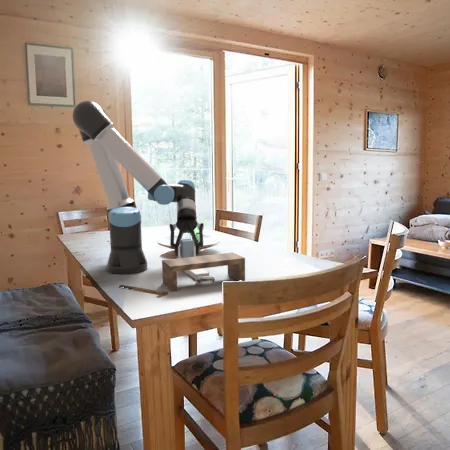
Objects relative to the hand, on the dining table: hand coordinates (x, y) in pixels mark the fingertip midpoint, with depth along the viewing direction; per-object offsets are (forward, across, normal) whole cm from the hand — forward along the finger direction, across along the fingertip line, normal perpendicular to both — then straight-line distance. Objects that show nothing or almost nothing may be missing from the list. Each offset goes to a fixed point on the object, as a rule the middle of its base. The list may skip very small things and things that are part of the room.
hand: (187, 262), depth 156 cm
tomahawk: (+19, +14, +14) cm, 27 cm away
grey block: (+4, -2, 0) cm, 5 cm away
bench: (+13, -6, +8) cm, 16 cm away
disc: (+14, -6, +9) cm, 18 cm away
